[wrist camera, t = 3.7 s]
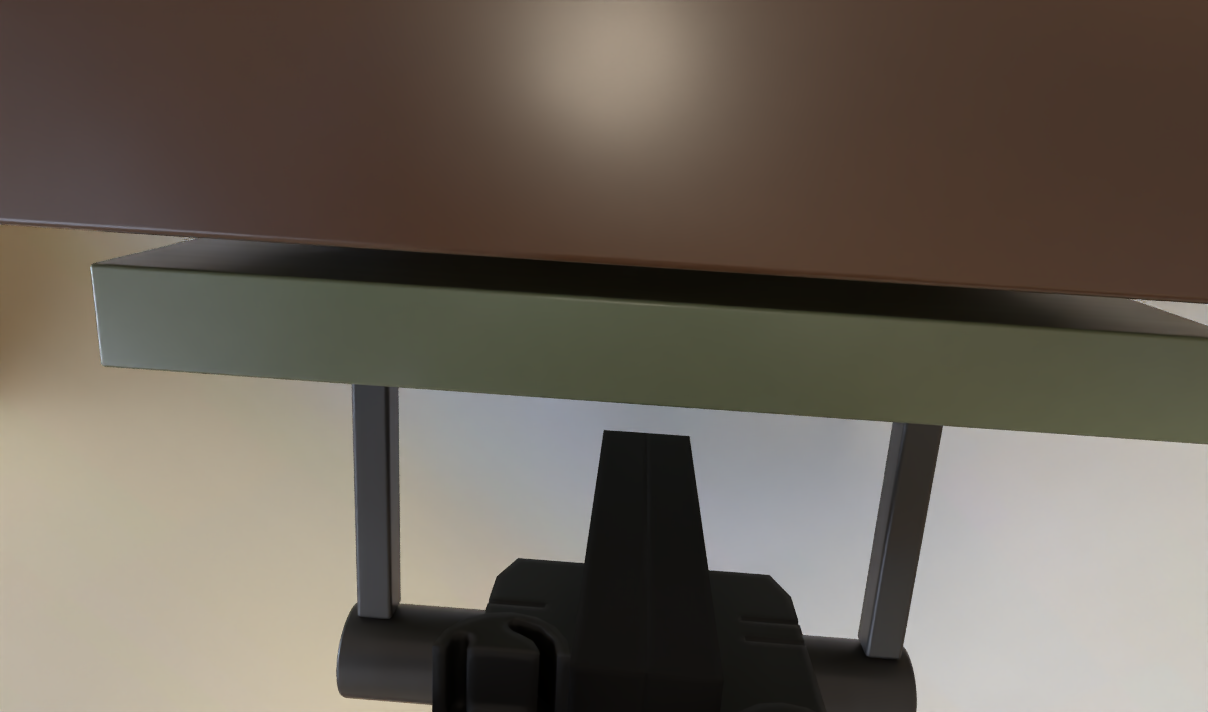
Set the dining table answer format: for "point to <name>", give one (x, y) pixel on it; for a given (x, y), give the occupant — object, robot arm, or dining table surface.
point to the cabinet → (634, 133)
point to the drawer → (651, 385)
